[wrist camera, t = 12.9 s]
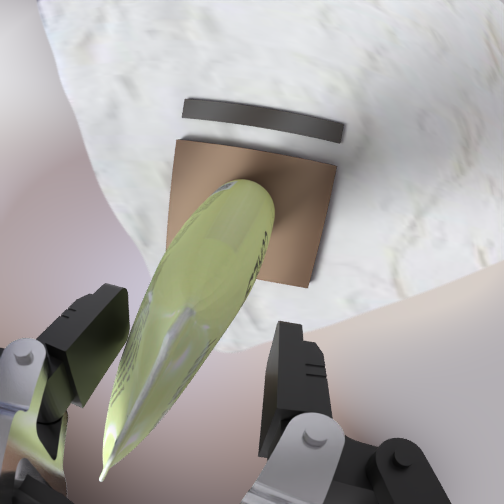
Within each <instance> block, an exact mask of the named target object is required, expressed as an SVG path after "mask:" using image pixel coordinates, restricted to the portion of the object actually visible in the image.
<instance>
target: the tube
mask: <svg viewBox="0 0 504 504" xmlns="http://www.w3.org/2000/svg"><path fill="white" fill-rule="evenodd" d="M274 218H275V208H274V203H273V200H272V198H271V196H270V195H269V193H268V192H267V191H266V190H265V189H264V188H263V187H262V186H261V185H259V184H258V183H256V182H253V181H250V180H245V179H238V180H233V181H230V182H227V183H225V184H224V185H222V186H221V187H219V188H218V189H217V190H216V191H215V192H214V193H213V194H212V195H211V196H209V197H208V198H207V199H206V200H205V201H204V202H203V203H202V204H201V205H200V206H199V208H198V209H197V210H196V211H195V212H194V213H193V214H192V215H191V216H190V218H189V219H188V220H187V221H186V222H185V224H184V225H183V226H182V228H181V229H180V230H179V232H178V233H177V235H176V236H175V238H174V239H173V241H172V242H171V244H170V245H169V247H168V249H167V250H166V252H165V254H164V256H163V257H162V259H161V261H160V263H159V265H158V267H157V269H156V271H155V274H154V276H153V278H152V280H151V283H150V285H149V287H148V289H147V292H146V294H145V296H144V299H143V301H142V303H141V306H140V308H139V311H138V313H137V316H136V318H135V321H134V324H133V326H132V329H131V332H130V334H129V337H128V340H127V343H126V346H125V349H124V352H123V354H122V357H121V360H120V364H119V367H118V371H117V375H116V379H115V382H114V386H113V390H112V394H111V399H110V403H109V408H108V414H107V419H106V425H105V432H104V441H103V466H104V468H103V471H102V473H101V475H100V478H99V481H100V482H102V481H103V480H104V478H105V476H106V474H107V473H108V470H109V469H110V468H111V467H112V466H114V465H115V464H116V463H118V462H119V461H120V460H122V459H123V458H124V457H125V456H127V454H129V453H130V452H131V451H132V450H133V449H134V448H135V447H137V445H138V444H139V443H140V442H141V441H142V440H143V439H144V438H145V437H146V436H147V435H148V434H149V433H150V432H151V431H152V430H153V429H154V428H155V427H156V425H157V424H158V423H159V421H161V419H162V418H163V417H164V416H165V415H166V413H167V412H168V410H170V408H171V407H172V406H173V404H174V403H175V402H176V400H177V399H178V398H179V396H180V395H181V393H182V392H183V391H184V389H185V388H186V387H187V385H188V384H189V383H190V381H191V380H192V379H193V377H194V375H195V374H196V373H197V371H198V370H199V369H200V367H201V366H202V364H203V363H204V361H205V360H206V359H207V357H208V356H209V354H210V353H211V351H212V350H213V348H214V347H215V345H216V344H217V343H218V341H219V340H220V338H221V337H222V335H223V334H224V332H225V331H226V330H227V328H228V327H229V325H230V324H231V322H232V321H233V319H234V318H235V316H236V315H237V313H238V311H239V310H240V308H241V307H242V305H243V303H244V302H245V300H246V298H247V296H248V295H249V293H250V291H251V289H252V287H253V285H254V283H255V280H256V278H257V276H258V273H259V271H260V268H261V265H262V263H263V260H264V257H265V254H266V251H267V248H268V244H269V241H270V237H271V233H272V228H273V223H274Z"/></svg>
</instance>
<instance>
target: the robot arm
mask: <svg viewBox="0 0 504 504" xmlns="http://www.w3.org/2000/svg"><path fill="white" fill-rule="evenodd" d="M128 306H129V305H128V292H127V289H126V288H123V287H118V286H115V285H111V284H107V283H105V284H104V285H102V286H101V287H100V288H99V289H98V290H97V291H96V292H95V293H94V294H88V295H86V296H84V297H81V298H79V299H77V300H76V301H75V302H74V303H73V304H72V305H71V306H70V307H69V308H68V310H67V309H66V310H65V311H64V312H63V313H62V314H61V316H59V317H58V318H57V319H56V320H55V321H54V322H53V323H52V324H51V325H50V326H49V327H48V328H47V329H46V330H45V331H44V332H43V333H42V334H41V335H40V336H39V337H38V338H37V339H36V340H35V339H30V338H23V339H18V340H15V341H13V342H12V343H10V344H9V345H8V346H7V347H6V348H5V349H4V348H0V504H74V503H73V502H71V501H70V500H69V499H68V498H67V485H66V480H65V476H64V473H63V465H62V464H63V454H64V444H65V437H66V430H67V423H68V412H67V408H68V406H69V405H70V403H72V404H74V405H76V406H79V407H81V408H83V407H84V406H85V404H86V402H87V401H88V399H89V398H90V396H91V395H92V393H93V392H94V390H95V388H96V387H97V385H98V384H99V382H100V381H101V379H102V378H103V376H104V375H105V373H106V372H107V370H108V368H109V367H110V365H111V364H112V362H113V361H114V359H115V358H116V356H117V355H118V353H119V352H120V350H121V349H122V347H123V346H124V344H125V343H126V341H127V339H128V335H129V329H130V324H129V307H128ZM326 376H327V375H326V369H325V362H324V356H323V353H322V351H321V350H320V349H319V347H318V346H317V344H316V343H315V342H308V341H303V331H302V325H301V324H295V323H289V322H283V321H278V323H277V327H276V331H275V334H274V338H273V342H272V346H271V350H270V354H269V357H268V362H267V368H266V375H265V386H264V398H263V409H262V420H261V431H260V442H259V452H258V456H259V457H264V458H267V463H266V465H265V467H264V468H263V470H262V472H261V474H260V475H259V477H258V479H257V480H256V482H255V483H254V485H253V486H252V488H251V489H250V490H249V491H248V493H247V494H246V496H245V497H244V498H243V500H242V502H241V503H240V504H451V502H450V500H449V498H448V497H447V495H446V493H445V491H444V489H443V487H442V486H441V484H440V482H439V480H438V478H437V477H436V475H435V473H434V471H433V469H432V468H431V466H430V464H429V462H428V460H427V459H426V457H425V455H424V454H423V452H422V450H421V449H420V448H419V447H418V446H417V445H416V444H415V443H413V442H411V441H409V440H407V439H403V438H392V439H388V440H386V441H384V442H383V443H382V444H381V445H380V446H379V447H376V446H372V445H369V444H365V443H361V442H358V441H355V440H353V439H351V438H349V437H347V436H346V435H344V432H343V430H342V428H341V427H340V425H339V424H338V423H337V422H336V421H334V420H333V418H332V411H331V404H330V397H329V389H328V382H327V379H326Z"/></svg>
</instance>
